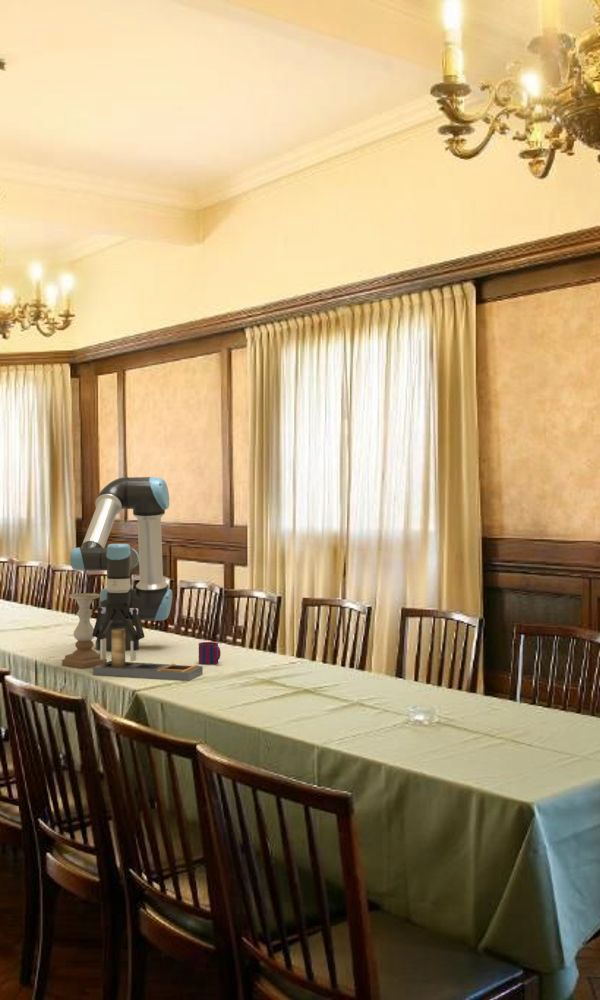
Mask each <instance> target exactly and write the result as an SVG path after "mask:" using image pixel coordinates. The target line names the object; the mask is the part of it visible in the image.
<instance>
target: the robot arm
mask: <svg viewBox="0 0 600 1000" xmlns="http://www.w3.org/2000/svg"><path fill="white" fill-rule="evenodd" d="M94 505H95V510H94V512H93V515H92V518H91V520H90V524H89V526H88V528H87V530H86V533H85V536H84V538H83V542H82V544H81V546H80V547H74V548H72V549H71V552H70V553H69V555H70V556H69V562H70V563H69V564H70V566H71V568H72V569H73V570H76V571H106V588H103V589H102V590H101V591H100V597H99V598H100V599H99V603H100V604H99V607H98V608H97V616H96V621H95V623H94V627H93V628H94V631H93V634H92V636H93V637H94V638H96V639H95V649H96V650H100V651H99V652H100V653H99V654H100V659H107V651H111V640H112V629H125V651H129V650H130V662H135V661H137V651H139V650H140V646H139V645H140V644H139V643H140V640H141V639H144V638H145V633H144V628H143V625H142V622H141V621H154V622H156V621H165V620H167V619H168V618H169V615H170V613H171V609H172V603H173V590H172V589H170V588H168V583H167V582H166V581H165V580H164V574H163V573H164V572H163V571H164V570H163V569H164V568H163V565H164V564H163V543H162V542H163V541H162V539H163V538H162V536H163V535H162V517H163V516H164V515H165V514H166V510H168V509H169V507H170V492H169V488H168V485H167V482H166V480H164V479H163V478H162V477H153V476H144V477H143V476H141V477H140V476H136V477H129V476H122V477H119V478H116V479H114V480H112V481H111V482H109V483H107V484H106V485H105V486H104V487H103V488H102V489H101V490H100V492H99V493H98V494H97V496H96V499H95V503H94ZM122 510H132V516H134V517H135V518H136V519H137V535H138V536H137V537H138V539H137V540H138V550H135V549H134V548H133V547H131V545H130V544H128V543H109V544H108V545H107V542H108V539H109V536H110V533H111V531H112V528H113V526H114V522H115V519H116V517H117V515H119V514H120V513H121V511H122ZM106 545H107V547H106ZM137 566H139V567H138V568H139V569H138V570H139V582H138V583H137V584H136V585H135V588H133V587H132V584H131V571H132V570H134V569H135V568H136V567H137ZM133 624H134V625H133Z"/></svg>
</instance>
